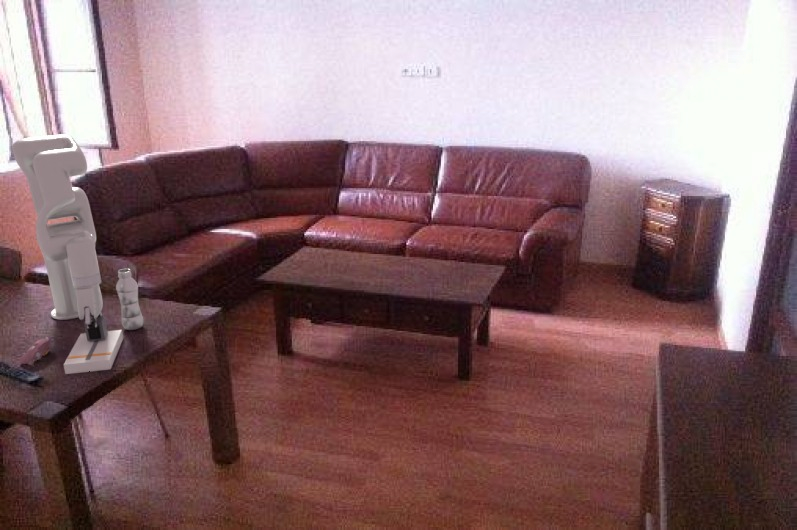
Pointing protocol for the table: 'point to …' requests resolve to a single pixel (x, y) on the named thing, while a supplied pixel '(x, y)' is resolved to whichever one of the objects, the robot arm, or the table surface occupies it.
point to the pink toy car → (37, 350)
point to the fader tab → (101, 325)
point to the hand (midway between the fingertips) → (97, 334)
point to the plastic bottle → (129, 300)
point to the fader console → (93, 353)
